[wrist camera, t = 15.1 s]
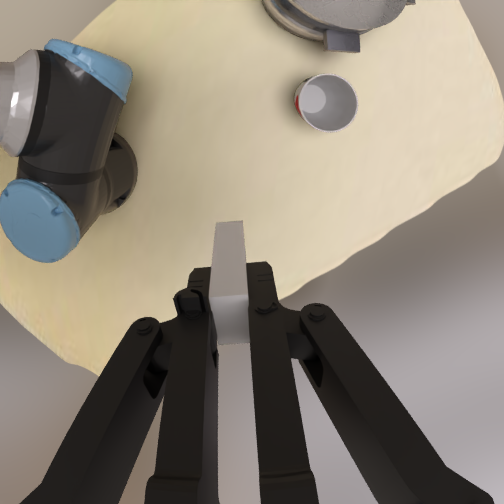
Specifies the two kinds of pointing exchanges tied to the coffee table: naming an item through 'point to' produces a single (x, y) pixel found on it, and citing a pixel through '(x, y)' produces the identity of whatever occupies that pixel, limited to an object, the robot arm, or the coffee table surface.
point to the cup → (326, 102)
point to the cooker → (313, 27)
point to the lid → (352, 12)
